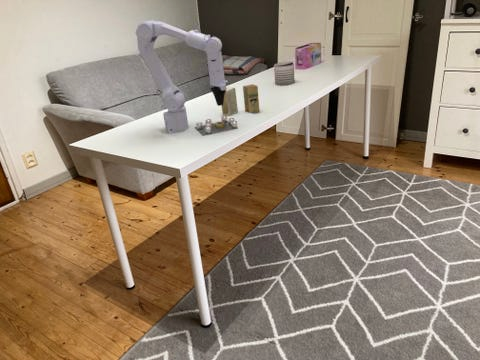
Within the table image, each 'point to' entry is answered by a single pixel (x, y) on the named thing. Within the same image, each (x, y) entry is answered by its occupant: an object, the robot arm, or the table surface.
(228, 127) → the mat
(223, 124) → the nut
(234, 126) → the spacers
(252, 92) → the shoe polish box
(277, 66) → the can
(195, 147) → the table surface
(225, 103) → the skincare box
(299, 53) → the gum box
